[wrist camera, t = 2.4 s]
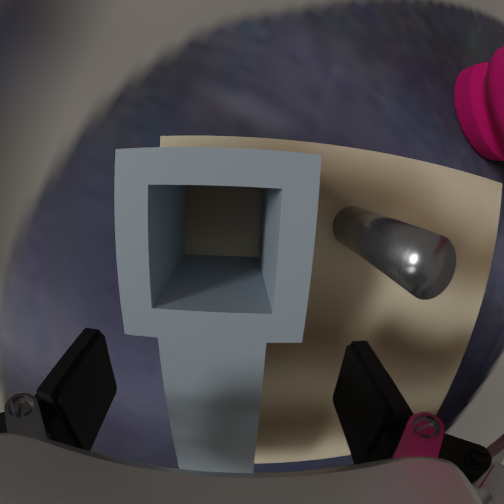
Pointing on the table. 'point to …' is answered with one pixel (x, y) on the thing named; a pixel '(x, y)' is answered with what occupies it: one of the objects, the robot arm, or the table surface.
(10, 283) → the table surface
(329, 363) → the base board
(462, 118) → the pepper mill
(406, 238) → the post
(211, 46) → the table surface
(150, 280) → the link
